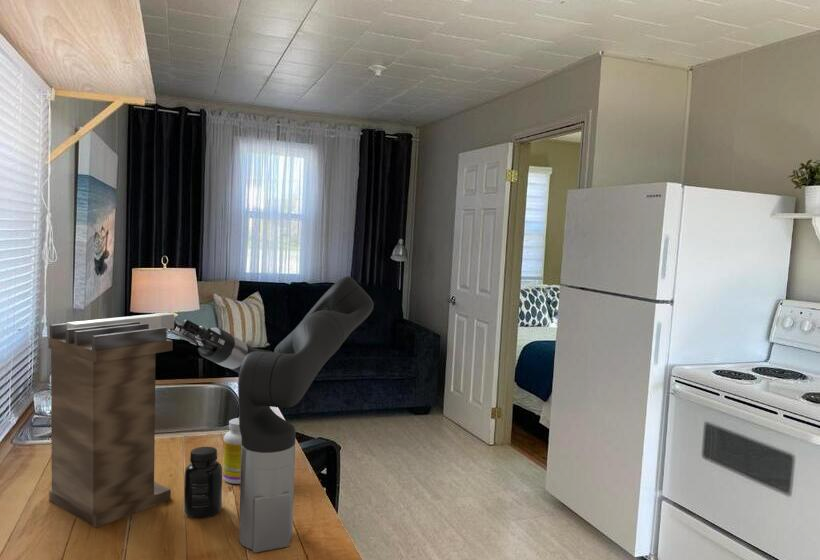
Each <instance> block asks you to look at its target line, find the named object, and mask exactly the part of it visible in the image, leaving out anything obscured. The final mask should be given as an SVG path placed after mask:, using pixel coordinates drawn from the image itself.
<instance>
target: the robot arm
mask: <svg viewBox="0 0 820 560" xmlns="http://www.w3.org/2000/svg"><path fill="white" fill-rule="evenodd" d="M374 305H375V304H374V301H373V299H372V298H371V296H370V295H369V294H368V293H367V292H366V291H365V290H364V289H363V287H361V286H360V284H358V282H357V281H356V280H355V279H354V278H353V277H351V276H348V275H347V276H343V277H342V278H340V279H339V280H337V282H335V283H334V284H333V285H332V286H331V287H329V289H327V291H325V293H324V294H323V295H322V296H321V297H320V298H319V299H318V301H317V302H316V303H315V304H314V305H313V307H311V309H310V310H309V311H308V312H307V313H306V314H305V316H304V317H303V318H302V320H301V321H300V322H299V324H297V325H296V327H295V328H294V329H293V330H292V331H291V332H290V333H289V334H287V336H286V337H284V338H283V340H281V341H280V342H279V343H278V344H277V345H276V346H275V348H274V351H271V350H265V349H260V348H254V347H252V346H250V345H249V344H247V343H245V342H243V341H242V340H241V339H239V338H238V337H237V336H234V335H233V334H231V333H229V332H227V331H226V330H224V329H222V328H220V327H217V326H216V327H215V326H214V327H211V328H210V327H209V328H208V327H206V326H203V325H199V324H196V323H194V322H193V321H191V320H189V319H184V320H183V321H182V323H181V322H179V321H178V320H174V328H173V329H167V333H171V334H172V335H175V336H177V337H179V338H180V339H182V340H183V341H188V342H189V343H190V344H193V345H195V346H197V350H198V354H199V355H200V356H201V357H203V358H205V359H207V360H209V361H210V362H213V363H215V364H217V365H219V366H221V367H224V368H226V369H227V368H228V369H230V370H231V371H233V372H235V373H238V379H237V386H238V387H237V389H238V390H237V392H238V393H237V395H238V418H239V429H240V433H241V437H242V441H241V480H240V484H239V485H240V488H239V489H240V491H239V528H238V530H239V534H238V535H239V537H238V538H239V539H238V540H239V542H240V545H241V546H242V547H245V548H248V549H249V550H252V551H253V553H259V552H260V553H261V552H266V551H271V550H277V549H281V548H286V547H290V543H291V540H292V539H293V531H294V530H293V529H294V526H293V525H294V498H295V497H294V496H295V495H294V494H295V492H294V491H295V490H294V489H295V464H296V463H295V460H296V436H297V435H296V433H297V432H296V428H295V426H294V425H293V424H292V423H291V422H289V421H288V420H286V419H284V418H282V417H280V416H279V415H278V414H276V413H275V412H274V410H273V409H272V408H281V409H282V408H283V409H285V408H288V409H289V408H292V407H295V406H296V405H297V404H298V403H299V402H300V401H301V400H302V398H303V397H304V396H305V394H306V393H307V391H308V390H309V388H310V386H311V384H312V383H313V381H314V379H315V378H316V377H317V375H318V373H319V372H320V371H321V370H322V368H323V367H324V365H325V364H326V363H327V362H328V361H329V360H330V358H331V357H333V356H334V355H335V354H336V352H337V351H338V350H339V349H340V348H341V346H342V345H343V343H344V342H345V341H346V340H347V338H348V337H349V335H351V333H352V332H353V331H354V330H356V329H357V328H358V327H359V326H360V325H361V324H362V323H364V321H365V320H366V319H367V318H368V317H369V316H370V315H371V313H372V312H373V310H374V308H375V307H374Z"/></svg>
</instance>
